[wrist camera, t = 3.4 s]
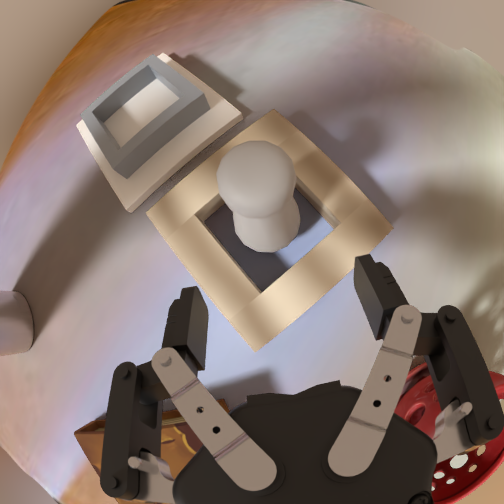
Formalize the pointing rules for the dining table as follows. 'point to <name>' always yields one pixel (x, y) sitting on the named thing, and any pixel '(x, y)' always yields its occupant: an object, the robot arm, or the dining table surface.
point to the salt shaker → (260, 194)
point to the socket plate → (152, 126)
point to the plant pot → (423, 417)
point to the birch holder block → (299, 275)
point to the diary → (172, 443)
